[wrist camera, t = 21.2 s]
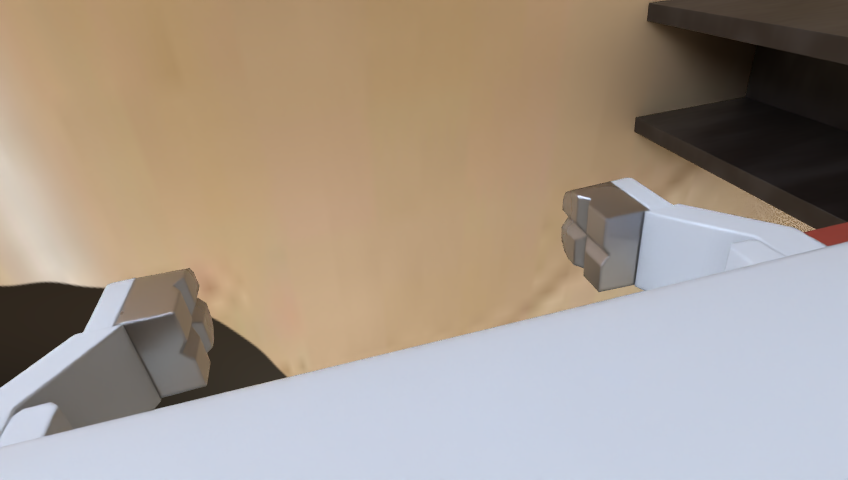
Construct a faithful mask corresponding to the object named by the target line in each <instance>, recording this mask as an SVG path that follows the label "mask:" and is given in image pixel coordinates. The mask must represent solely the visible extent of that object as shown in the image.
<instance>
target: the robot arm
mask: <svg viewBox="0 0 848 480" xmlns="http://www.w3.org/2000/svg"><path fill="white" fill-rule="evenodd" d="M563 211H564V212H565V213H566V214H567V216H568V218H567V220H566V221H565V223H564V224H563V226H562V243H563V248H564V251H565V253H566V255H567V257H568V259H569V260H570V261H571V262H572V263H573V264H574V265H576V266H579V267H582V268H584V277H585V278H586V279H587V280H588V281H589V282H590V283H591V284H592V285H593V286H594V287H595V288H596V289H597V291H598V292H602V291H606V290H611V289H616V288H621V287H625V286H630V285H635V286H636V287H638V288H640V289H642V290H644V291H642V292H638V293H633V294H629V295H625V296H621V297H617V298H613V299H609V300H605V301H600V302H596V303H592V304H588V305H584V306H580V307H576V308H572V309H568V310H563V311H559V312H555V313H551V314H547V315H543V316H539V317H535V318H530V319H526V320H522V321H518V322H514V323H510V324H506V325H502V326H497V327H493V328H489V329H485V330H481V331H477V332H473V333H469V334H465V335H460V336H456V337H452V338H448V339H444V340H440V341H436V342H432V343H427V344H423V345H419V346H415V347H411V348H407V349H403V350H399V351H394V352H390V353H386V354H382V355H378V356H374V357H370V358H366V359H361V360H357V361H353V362H349V363H345V364H341V365H337V366H333V367H328V368H324V369H320V370H316V371H312V372H308V373H304V374H300V375H295V376H291V377H287V378H283V379H279V380H275V381H271V382H267V383H263V384H258V385H255V386H250V387H247V388H242V389H238V390H234V391H230V392H225V393H221V394H217V395H213V396H209V397H205V398H201V399H197V400H192V401H188V402H184V403H180V404H176V405H172V406H168V407H164V408H159V409H156V410H154V409H155V407H156V406H157V405H158V404H159V402H160V401H161V398H162V397H166V396H170V395H174V394H178V393H182V392H185V391H189V390H193V389H197V388H200V387H204V386H206V385H207V379H208V373H209V367H210V360H209V358H208V355H207V352H208V351H209V350H210V349H211V348H212V347H213V340H214V332H213V323H212V319H211V315H210V312H209V309H208V306H207V304H206V303H205V302H203V301H202V300H200V299H199V298H197V295H198V291H199V284H198V281H197V279H196V277H195V274H194V272H193V271H192V270H191V269H190V268H187V269H182V270H177V271H171V272H166V273H161V274H155V275H150V276H144V277H139V278H132V279H127V280H123V281H119V282H114V283H111V284H108V285H107V286H106V288H105V290H104V292H103V294H102V296H101V298H100V300H99V302H98V304H97V306H96V308H95V310H94V312H93V314H92V316H91V318H90V320H89V322H88V324H87V326H86V329H85V330H84V332H83V333H80V334H76V335H74V336H72V337H71V338H69V339H68V340H67V341H65V342H64V343H63V344H61V345H60V346H58V347H57V348H55V349H54V350H53V351H51V352H50V353H48V354H47V355H46V356H44V357H43V358H41V359H40V360H39V361H38V362H36V363H35V364H33V365H32V366H30V367H29V368H28V369H26V370H25V371H24V372H22V373H21V374H20V375H18V376H16V377H15V378H14V379H12V380H11V381H10V382H8V383H7V384H5V385H4V386H3V387H1V388H0V480H848V242H844V243H840V244H836V245H832V246H826V245H825V244H823V243H821V242H819V241H818V240H816V239H814V238H812V237H810V236H809V235H807V234H805V233H803V232H801V231H800V230H798V229H796V228H794V227H789V226H784V225H779V224H774V223H769V222H765V221H760V220H755V219H750V218H745V217H740V216H735V215H730V214H726V213H721V212H716V211H711V210H706V209H701V208H696V207H692V206H687V205H682V204H677V205H672V204H670V203H669V202H667V201H666V200H664V199H663V198H661V197H660V196H658V195H657V194H655V193H654V192H652V191H651V190H649V189H648V188H646V187H645V186H643V185H642V184H640V183H639V182H637V181H636V180H634V179H633V178H623V179H619V180H615V181H611V182H605V183H601V184H597V185H592V186H588V187H584V188H579V189H575V190H571V191H568V192H566V193H565V196H564V199H563Z"/></svg>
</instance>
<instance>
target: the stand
mask: <svg viewBox="0 0 848 480" xmlns="http://www.w3.org/2000/svg"><path fill="white" fill-rule="evenodd" d="M647 21H650V22H655V23H659V24H664V25H669V26H673V27H678V28H682V29H687V30H691V31H696V32H700V33H705V34H709V35H714V36H718V37H723V38H727V39H732V40H736V41H741V42H746V43H750V44H755V45H757V46H756V50H755V55H754V59H753V64H752V68H751V73H750V77H749V82H748V86H747V91H746V95H745V97H743V98H738V99H733V100H727V101H722V102H717V103H711V104H706V105H701V106H695V107H690V108H685V109H679V110H674V111H668V112H663V113H658V114H652V115H647V116H642V117H636V122H635V130H634V131H635V132H636V133H638V134H640V135H642V136H644V137H645V138H647V139H649V140H651V141H653V142H655V143H657V144H658V145H660V146H662V147H664V148H666V149H668V150H670V151H672V152H673V153H675V154H677V155H679V156H681V157H683V158H685V159H686V160H688V161H690V162H692V163H694V164H696V165H698V166H699V167H701V168H703V169H705V170H707V171H709V172H711V173H712V174H714V175H716V176H718V177H720V178H722V179H724V180H726V181H727V182H729V183H731V184H733V185H735V186H737V187H739V188H740V189H742V190H744V191H746V192H748V193H750V194H752V195H753V196H755V197H757V198H759V199H761V200H763V201H765V202H766V203H768V204H770V205H772V206H774V207H776V208H778V209H779V210H781V211H783V212H785V213H787V214H789V215H791V216H793V217H794V218H796V219H798V220H800V221H802V222H804V223H806V224H807V225H809V226H811V227H813V228H815V229H820V228H825V227H829V226H833V225H837V224H842V223H846V222H848V0H666V1H660V2H653V3H649V9H648V18H647Z"/></svg>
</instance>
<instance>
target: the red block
mask: <svg viewBox="0 0 848 480" xmlns="http://www.w3.org/2000/svg"><path fill="white" fill-rule="evenodd" d="M803 233H805V234H807V235H809V236H810V237H812V238H814V239H816V240H818V241H819V242H821V243H823V244H825V245H826V246H832V245H836V244H840V243H844V242H848V222H846V223H842V224H837V225H833V226H829V227H825V228H820V229H816V230H812V231H808V232H803Z"/></svg>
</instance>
